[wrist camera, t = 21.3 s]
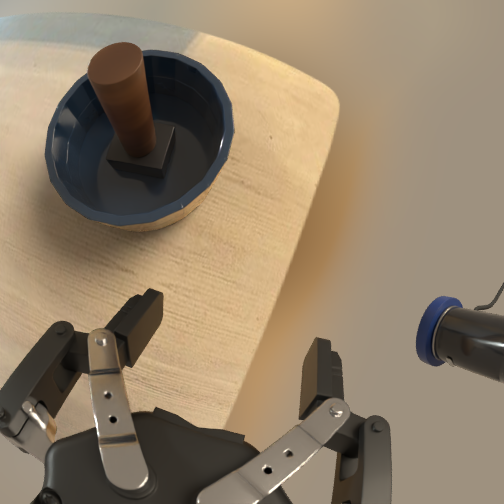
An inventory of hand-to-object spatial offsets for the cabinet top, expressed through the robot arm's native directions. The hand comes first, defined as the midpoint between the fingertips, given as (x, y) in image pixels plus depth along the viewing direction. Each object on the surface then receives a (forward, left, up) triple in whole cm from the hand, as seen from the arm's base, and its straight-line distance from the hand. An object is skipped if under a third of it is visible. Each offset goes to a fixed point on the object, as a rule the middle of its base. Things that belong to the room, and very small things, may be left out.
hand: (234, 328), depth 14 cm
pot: (+9, -11, -12) cm, 19 cm away
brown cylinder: (+9, -11, -11) cm, 18 cm away
